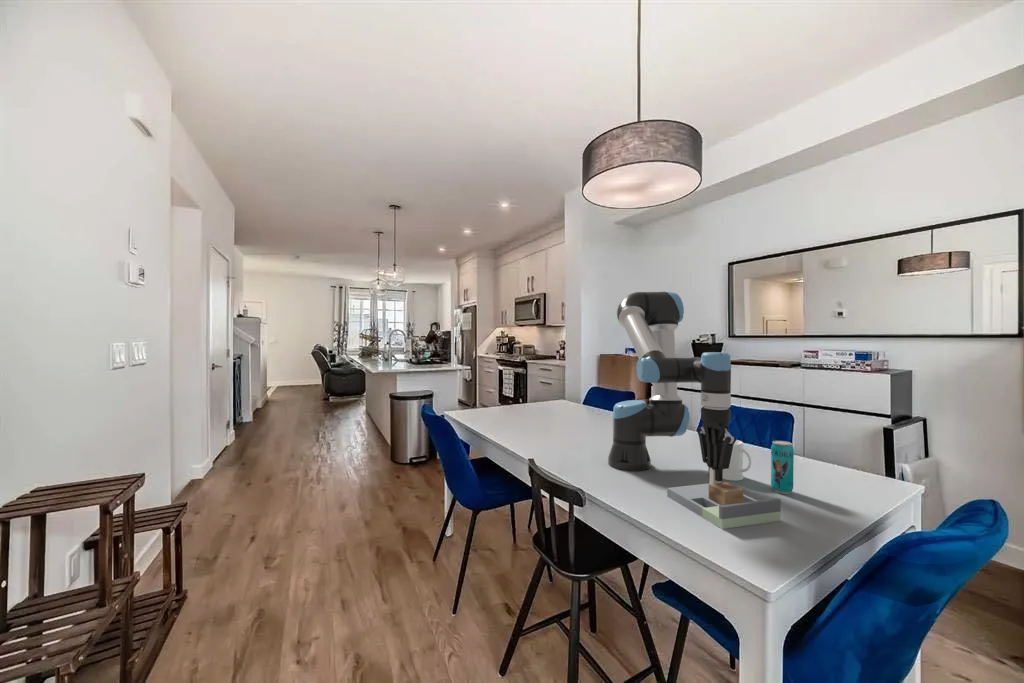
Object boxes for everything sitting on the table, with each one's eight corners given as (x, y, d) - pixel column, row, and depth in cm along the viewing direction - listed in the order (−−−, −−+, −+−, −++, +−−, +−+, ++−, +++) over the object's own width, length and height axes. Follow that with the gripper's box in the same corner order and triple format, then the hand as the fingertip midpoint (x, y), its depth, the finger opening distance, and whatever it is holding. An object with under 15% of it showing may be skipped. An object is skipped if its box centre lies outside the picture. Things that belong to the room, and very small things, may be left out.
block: (708, 498, 116) (708, 484, 116) (726, 496, 118) (726, 482, 118) (724, 507, 110) (724, 492, 110) (743, 504, 112) (743, 489, 112)
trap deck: (667, 495, 124) (667, 477, 124) (718, 490, 129) (718, 472, 129) (721, 529, 103) (722, 507, 103) (780, 520, 108) (780, 499, 108)
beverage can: (768, 491, 128) (769, 442, 127) (773, 486, 132) (773, 439, 132) (791, 496, 124) (791, 446, 124) (794, 491, 128) (795, 442, 128)
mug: (758, 481, 136) (758, 445, 136) (739, 485, 133) (739, 448, 133) (727, 471, 147) (727, 437, 147) (709, 474, 144) (709, 439, 144)
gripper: (688, 404, 123) (688, 484, 123) (721, 412, 110) (721, 501, 110) (710, 403, 125) (710, 482, 125) (745, 410, 112) (744, 498, 112)
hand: (715, 491), depth 118 cm, fingers closed
